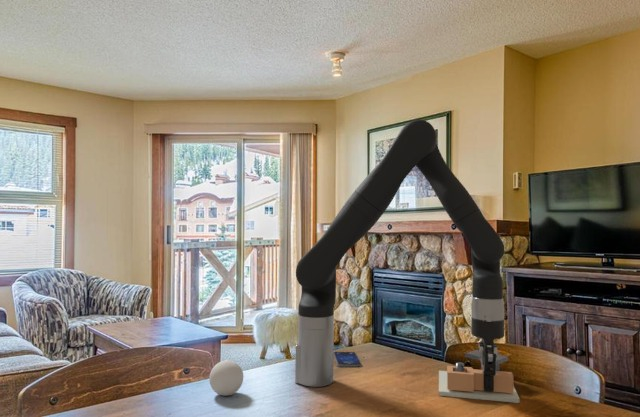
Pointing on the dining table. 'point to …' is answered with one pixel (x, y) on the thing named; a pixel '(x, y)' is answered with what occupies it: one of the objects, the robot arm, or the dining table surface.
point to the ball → (226, 377)
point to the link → (478, 380)
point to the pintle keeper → (476, 355)
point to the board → (475, 392)
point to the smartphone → (346, 359)
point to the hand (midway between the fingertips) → (487, 388)
